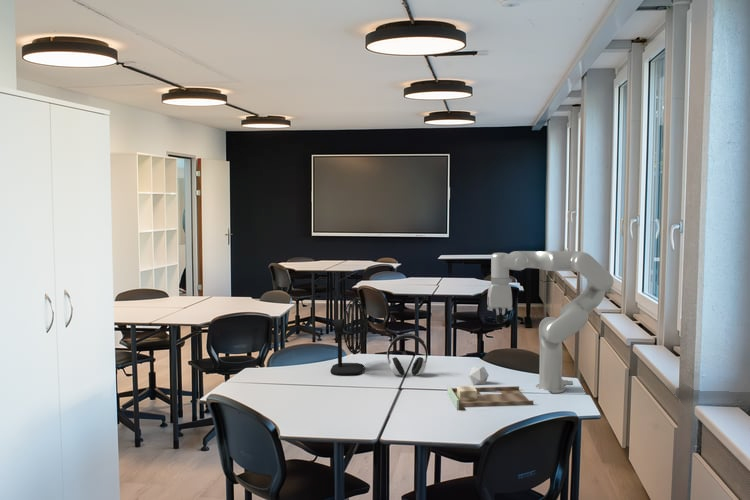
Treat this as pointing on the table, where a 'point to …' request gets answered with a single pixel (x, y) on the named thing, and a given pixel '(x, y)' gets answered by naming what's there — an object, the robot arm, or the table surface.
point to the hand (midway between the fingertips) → (499, 323)
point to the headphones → (419, 362)
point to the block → (467, 393)
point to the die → (478, 375)
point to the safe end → (453, 397)
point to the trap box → (496, 397)
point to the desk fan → (340, 329)
